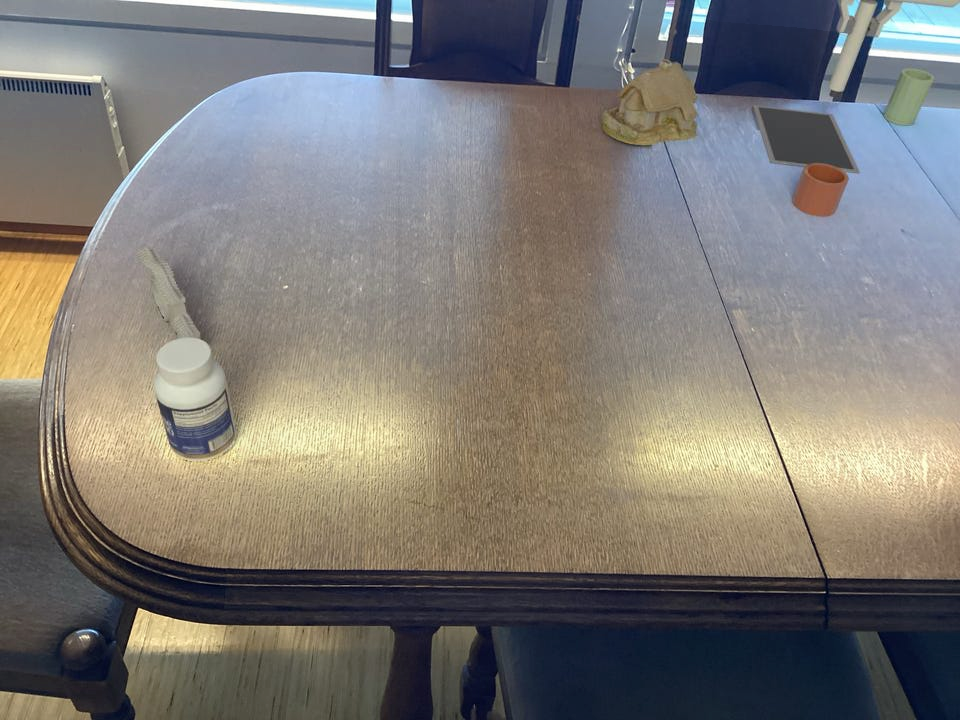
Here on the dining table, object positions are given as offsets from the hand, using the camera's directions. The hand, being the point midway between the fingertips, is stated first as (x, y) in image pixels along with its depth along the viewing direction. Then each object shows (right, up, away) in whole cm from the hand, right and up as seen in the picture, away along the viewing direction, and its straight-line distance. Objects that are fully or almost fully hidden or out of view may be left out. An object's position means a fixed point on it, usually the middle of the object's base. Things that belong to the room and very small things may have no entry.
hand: (856, 33), depth 102 cm
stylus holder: (-5, -21, +2) cm, 22 cm away
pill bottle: (-70, -47, -33) cm, 91 cm away
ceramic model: (-23, -8, +16) cm, 29 cm away
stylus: (-1, -6, +5) cm, 8 cm away
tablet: (-1, -9, +16) cm, 19 cm away
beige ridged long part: (-76, -37, -23) cm, 88 cm away
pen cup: (+18, -3, +24) cm, 30 cm away
